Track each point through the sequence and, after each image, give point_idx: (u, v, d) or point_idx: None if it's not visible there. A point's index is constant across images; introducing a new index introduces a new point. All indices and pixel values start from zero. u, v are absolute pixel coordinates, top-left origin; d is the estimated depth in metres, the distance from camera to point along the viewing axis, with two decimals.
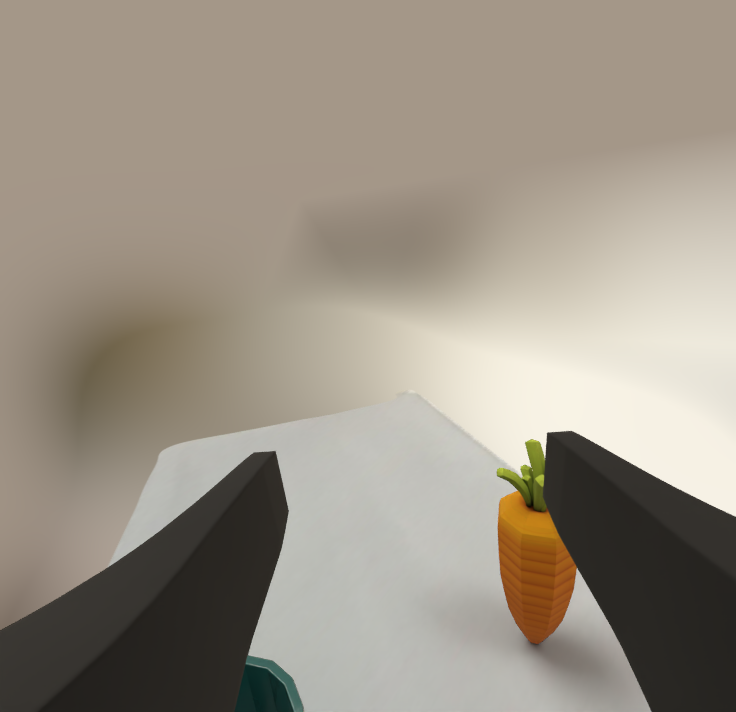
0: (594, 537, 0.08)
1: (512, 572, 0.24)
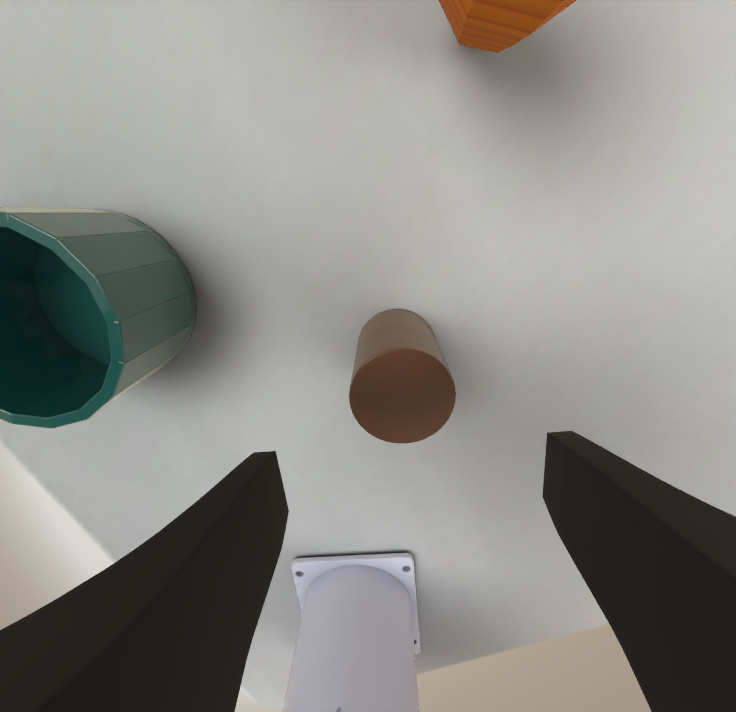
0: (594, 537, 0.08)
1: None
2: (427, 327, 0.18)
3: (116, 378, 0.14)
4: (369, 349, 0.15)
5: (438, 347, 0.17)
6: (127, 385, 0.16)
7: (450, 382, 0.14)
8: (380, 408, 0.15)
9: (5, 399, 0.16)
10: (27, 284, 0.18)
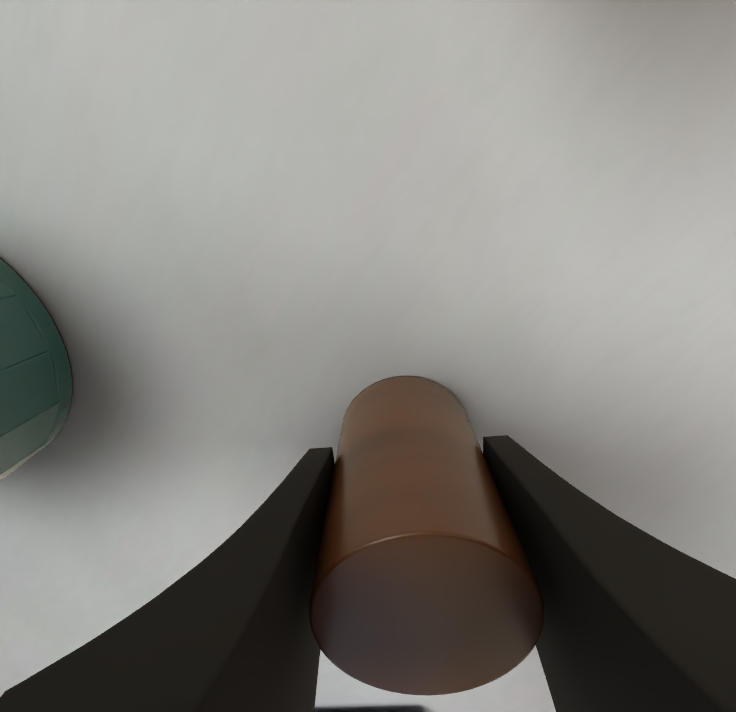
0: None
1: None
2: (461, 414, 0.10)
3: None
4: (354, 502, 0.07)
5: (488, 470, 0.09)
6: None
7: (535, 596, 0.06)
8: (376, 639, 0.07)
9: None
10: None
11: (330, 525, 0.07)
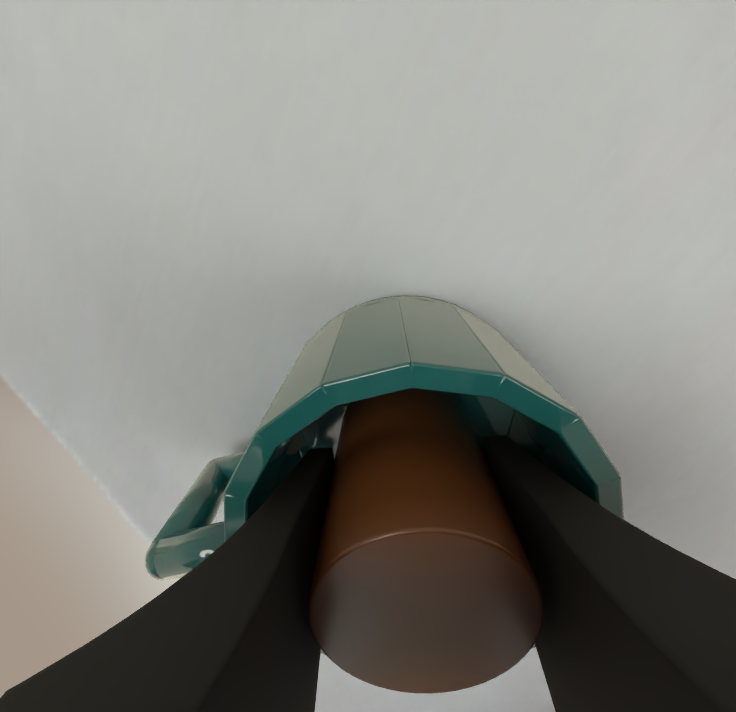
0: None
1: None
2: (460, 413, 0.10)
3: None
4: (353, 500, 0.07)
5: (488, 468, 0.09)
6: None
7: (535, 594, 0.06)
8: (375, 636, 0.07)
9: None
10: None
11: (329, 523, 0.07)
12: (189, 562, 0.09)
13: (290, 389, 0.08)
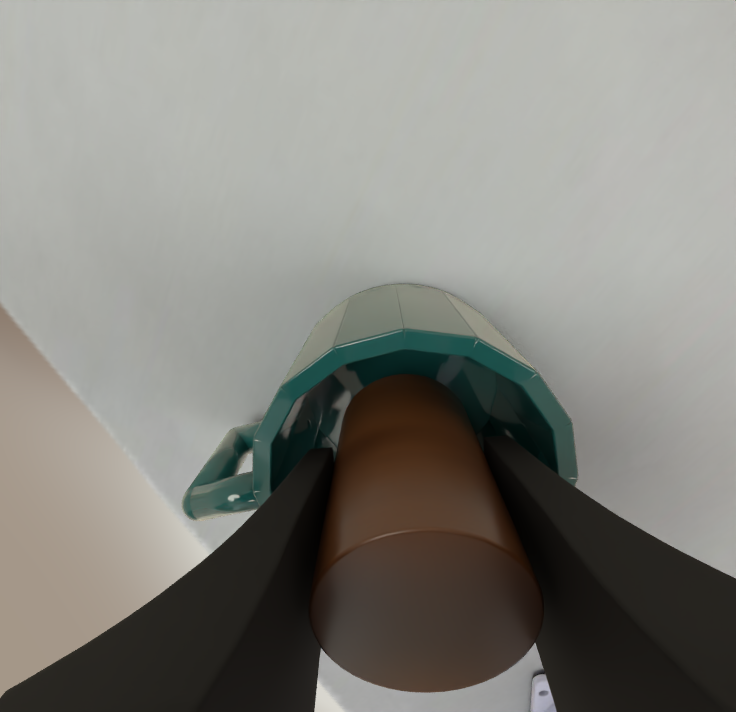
0: None
1: None
2: (461, 412, 0.10)
3: None
4: (353, 499, 0.07)
5: (488, 467, 0.09)
6: None
7: (535, 593, 0.06)
8: (376, 635, 0.07)
9: None
10: None
11: (330, 522, 0.07)
12: (220, 504, 0.11)
13: (306, 355, 0.10)
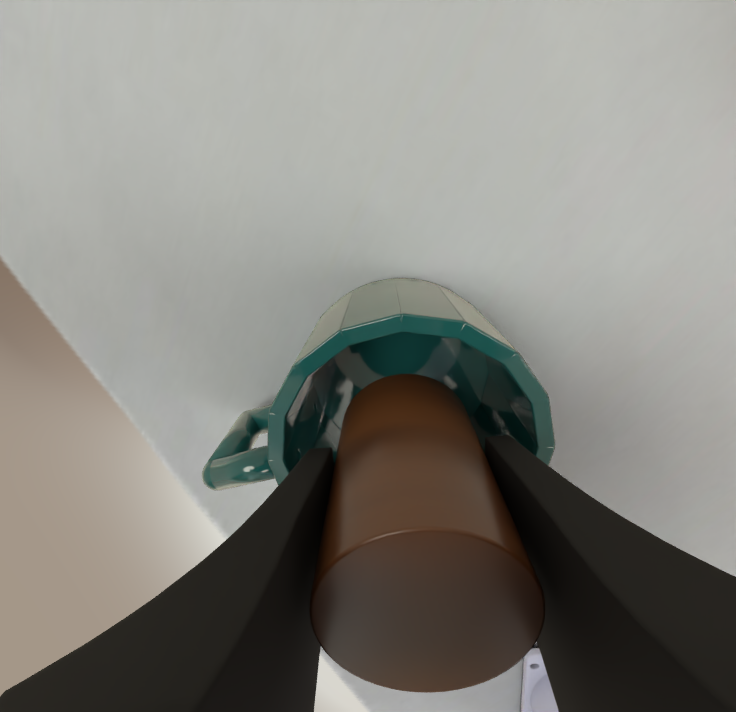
0: None
1: None
2: (461, 412, 0.10)
3: None
4: (354, 499, 0.07)
5: (489, 467, 0.09)
6: None
7: (536, 593, 0.06)
8: (376, 635, 0.07)
9: None
10: None
11: (330, 522, 0.07)
12: (237, 474, 0.12)
13: (315, 339, 0.11)
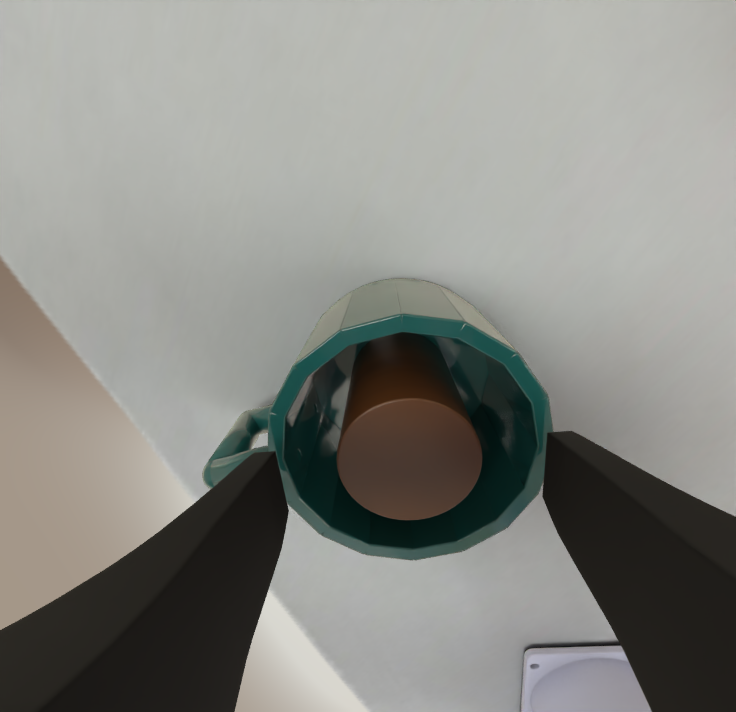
0: (594, 537, 0.08)
1: None
2: (439, 356, 0.14)
3: (520, 508, 0.12)
4: (364, 394, 0.11)
5: (455, 386, 0.13)
6: None
7: (475, 443, 0.10)
8: (378, 475, 0.11)
9: (351, 523, 0.13)
10: None
11: (349, 410, 0.11)
12: None
13: (315, 339, 0.11)
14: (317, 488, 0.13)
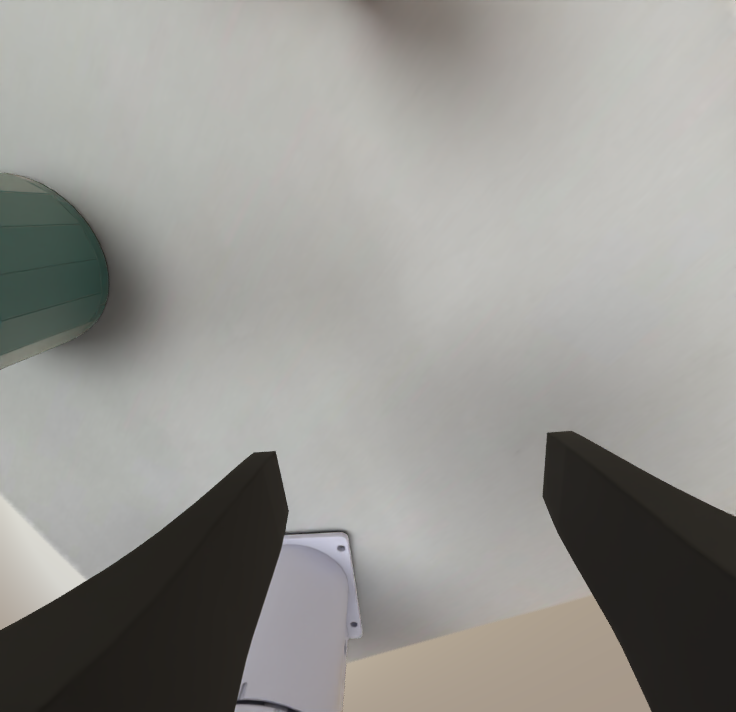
0: (594, 537, 0.08)
1: None
2: None
3: None
4: None
5: None
6: (14, 347, 0.15)
7: None
8: None
9: None
10: None
11: None
12: None
13: None
14: None
